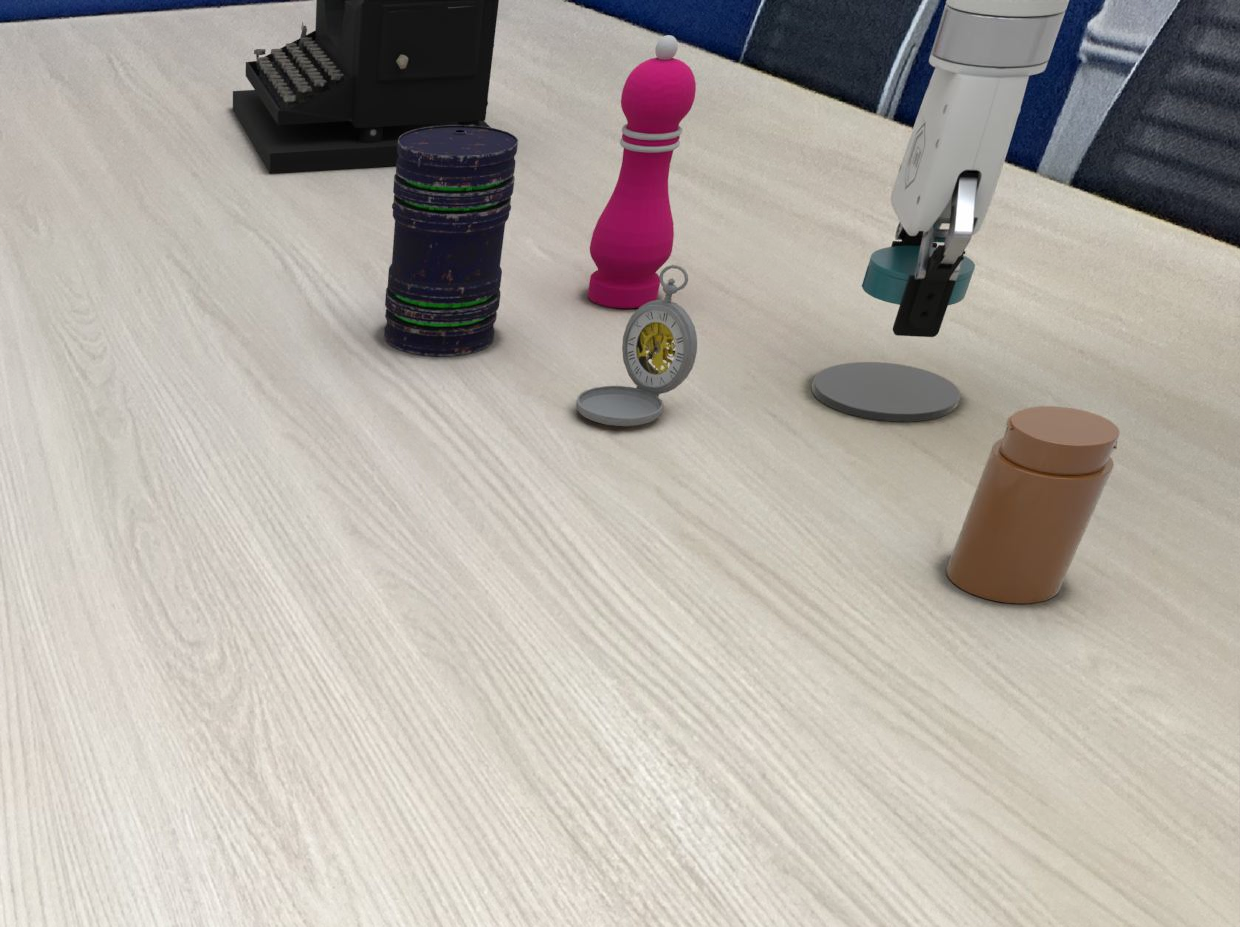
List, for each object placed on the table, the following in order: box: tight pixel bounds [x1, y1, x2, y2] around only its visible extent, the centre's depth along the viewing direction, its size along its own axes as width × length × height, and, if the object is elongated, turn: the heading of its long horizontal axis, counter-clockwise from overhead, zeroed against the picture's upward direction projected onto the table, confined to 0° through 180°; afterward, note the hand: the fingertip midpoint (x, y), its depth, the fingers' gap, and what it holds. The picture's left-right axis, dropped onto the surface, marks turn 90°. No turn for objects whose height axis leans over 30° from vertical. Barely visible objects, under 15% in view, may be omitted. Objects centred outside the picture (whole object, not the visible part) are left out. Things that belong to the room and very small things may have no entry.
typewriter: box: [232, 0, 500, 175], centre depth 167 cm, size 31×27×25 cm
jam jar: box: [946, 405, 1121, 605], centre depth 90 cm, size 7×7×10 cm
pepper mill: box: [587, 34, 697, 310], centre depth 125 cm, size 7×7×20 cm
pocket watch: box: [575, 264, 698, 427], centre depth 110 cm, size 8×8×10 cm
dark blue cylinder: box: [383, 125, 519, 357], centre depth 121 cm, size 10×10×15 cm
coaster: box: [811, 361, 961, 423], centre depth 115 cm, size 11×11×1 cm
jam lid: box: [861, 246, 976, 306], centre depth 109 cm, size 7×7×2 cm
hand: (906, 314), depth 111 cm, fingers closed on jam lid, 7 cm apart
